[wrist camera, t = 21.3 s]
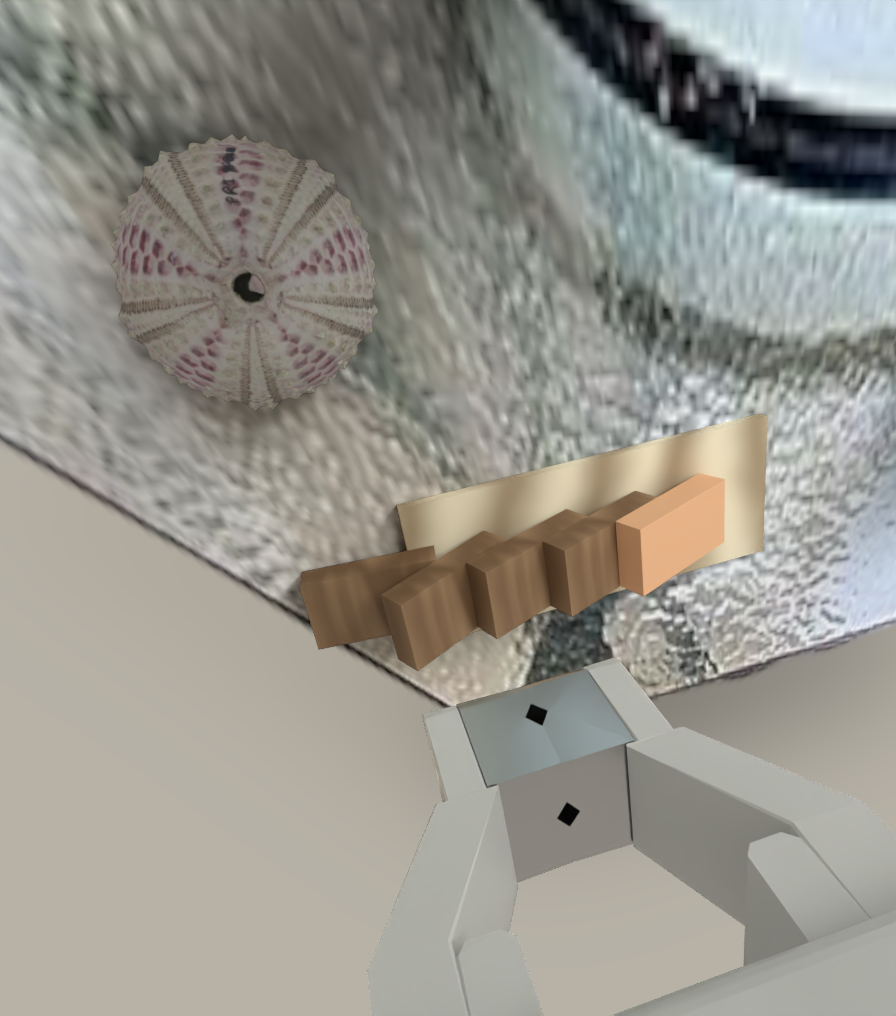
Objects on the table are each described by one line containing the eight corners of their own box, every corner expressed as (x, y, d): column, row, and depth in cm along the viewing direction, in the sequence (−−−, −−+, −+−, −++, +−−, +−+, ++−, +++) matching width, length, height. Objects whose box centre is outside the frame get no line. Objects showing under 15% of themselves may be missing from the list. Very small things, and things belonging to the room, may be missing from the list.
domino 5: (724, 479, 46) (640, 529, 42) (724, 542, 48) (643, 596, 44) (699, 473, 48) (615, 521, 43) (700, 534, 50) (619, 585, 45)
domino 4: (658, 497, 45) (564, 550, 41) (661, 560, 48) (571, 616, 43) (635, 490, 47) (542, 541, 43) (638, 551, 49) (550, 605, 45)
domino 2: (504, 537, 44) (400, 605, 39) (515, 599, 46) (417, 671, 41) (483, 530, 45) (380, 594, 41) (494, 590, 48) (398, 659, 43)
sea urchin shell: (74, 299, 36) (20, 318, 28) (212, 76, 33) (193, 34, 26) (286, 436, 41) (286, 481, 34) (418, 253, 39) (449, 259, 31)
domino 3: (587, 516, 45) (485, 572, 40) (593, 579, 47) (496, 639, 43) (566, 508, 46) (465, 562, 42) (572, 569, 48) (477, 626, 44)
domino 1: (436, 559, 43) (299, 587, 43) (449, 622, 45) (318, 649, 45) (433, 545, 45) (302, 571, 45) (446, 606, 47) (320, 632, 47)
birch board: (760, 413, 48) (767, 416, 47) (756, 546, 52) (762, 550, 52) (396, 505, 44) (398, 509, 43) (426, 638, 49) (428, 644, 48)
